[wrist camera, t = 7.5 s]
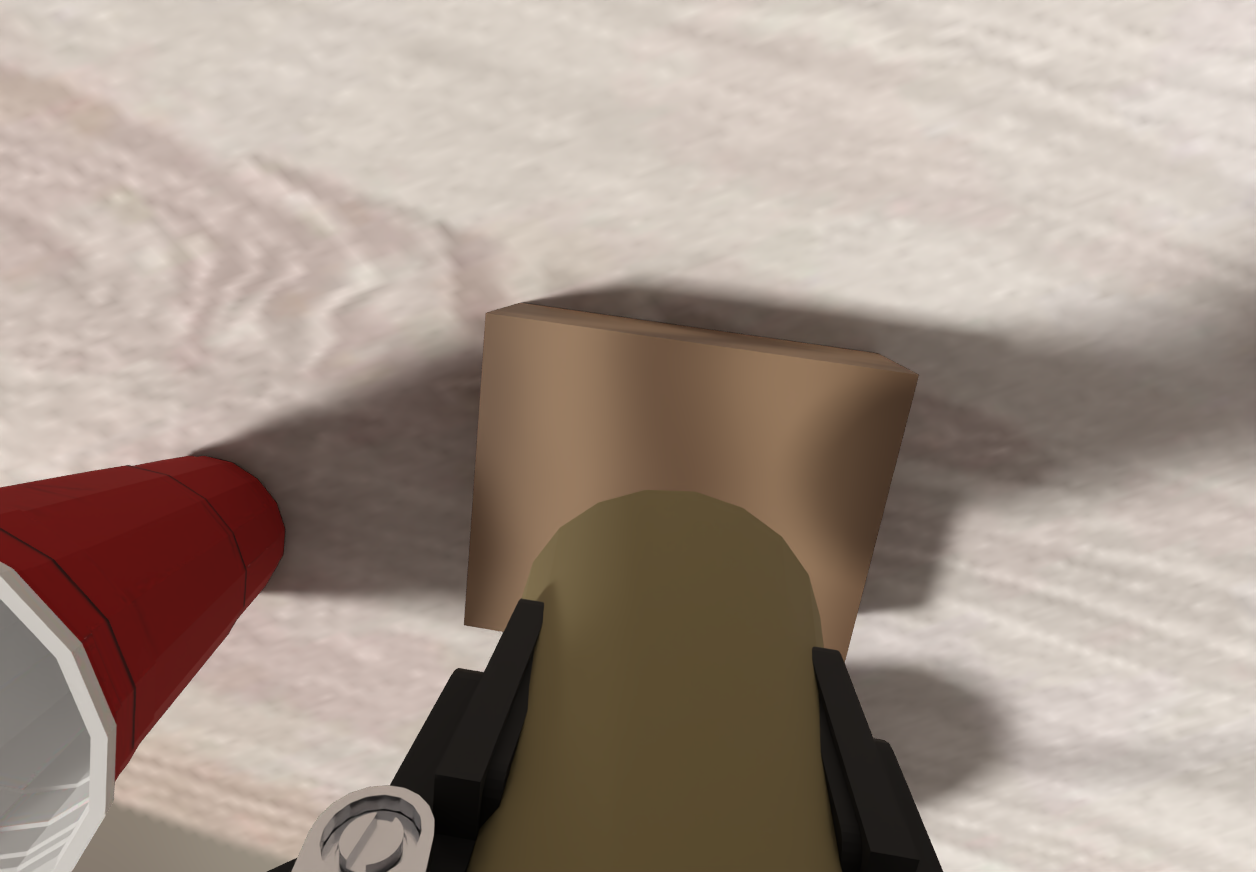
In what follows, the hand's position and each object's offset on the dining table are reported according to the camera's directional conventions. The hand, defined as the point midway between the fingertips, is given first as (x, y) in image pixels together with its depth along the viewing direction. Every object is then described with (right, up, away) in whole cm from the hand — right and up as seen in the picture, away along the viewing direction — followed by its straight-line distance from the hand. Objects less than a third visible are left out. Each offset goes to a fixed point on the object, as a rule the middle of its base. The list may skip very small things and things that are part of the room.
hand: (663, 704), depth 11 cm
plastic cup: (-16, +1, +15) cm, 22 cm away
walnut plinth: (+1, +3, +12) cm, 13 cm away
